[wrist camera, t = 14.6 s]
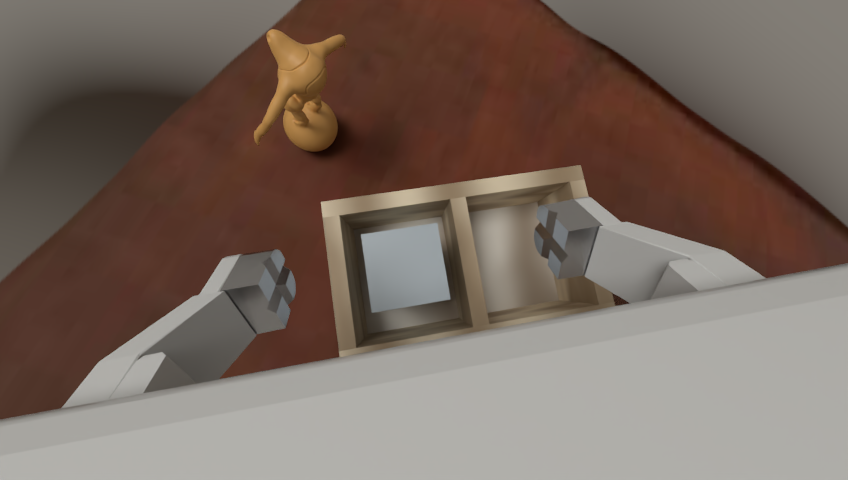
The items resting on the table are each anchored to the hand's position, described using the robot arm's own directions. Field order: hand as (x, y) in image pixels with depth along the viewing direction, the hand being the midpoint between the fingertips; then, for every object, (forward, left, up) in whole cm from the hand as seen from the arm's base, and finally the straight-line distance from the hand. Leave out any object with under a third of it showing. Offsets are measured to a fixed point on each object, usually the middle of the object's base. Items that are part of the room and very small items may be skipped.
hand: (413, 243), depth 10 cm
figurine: (+5, -11, -15) cm, 20 cm away
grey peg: (0, 0, -14) cm, 14 cm away
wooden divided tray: (-4, 0, -15) cm, 15 cm away
